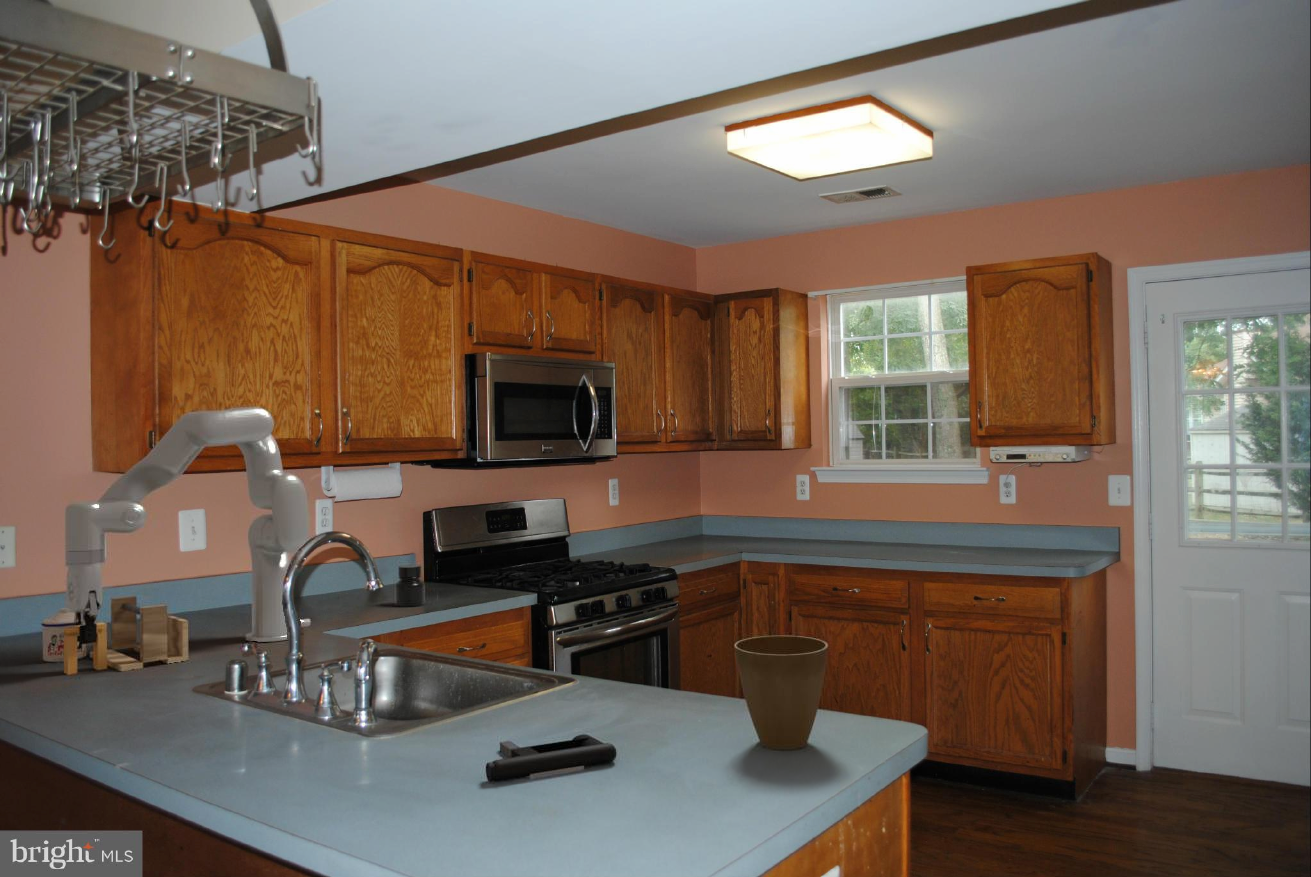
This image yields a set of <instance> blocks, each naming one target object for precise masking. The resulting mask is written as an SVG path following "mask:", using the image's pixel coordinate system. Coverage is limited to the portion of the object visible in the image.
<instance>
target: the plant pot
mask: <svg viewBox="0 0 1311 877" xmlns="http://www.w3.org/2000/svg"><path fill="white" fill-rule="evenodd" d="M828 648H829V644H828V643H827V642H826V641H824V640H821V639H819V638H814V637H810V636H809V637H808V636H801V635H800V636H799V635H763V636H753V637H748V638H745V639H744V638H743V639H741V640H738V641H736V642H735V643H734V652H735V658H736V663H737V668H738V674H739V675H738V676H739V679H740V684H741V688H742V691H743V696H744V699H745V703H746V706H747V709H748V712H749V715H750V719H751V722H752V724H753V727H754V729H755V732H756V735H757V737H758V740H759V743H760V745H761V746H763V747H765V748H767V749H770V750H778V751H793V750H799V749H802V748H805V747H806V745H807V744H808V742H809V738H810V735H811V732H812V730H813V726H814V724H815V719H816V717H817V712H818V709H819V705H820V700H821V695H822V690H823V685H824V681H825V674H826V668H827V659H828Z"/></svg>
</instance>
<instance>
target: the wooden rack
mask: <svg viewBox="0 0 1311 877" xmlns="http://www.w3.org/2000/svg"><path fill="white" fill-rule="evenodd" d="M137 598H138V597H137V596H135V595H130V596H121V597H112V598H110V648H107V667H111V668H113V669H115V670H117V671H119V672H121V671H122V672H127V671H128V672H129V671H133V670H132V669H134V670H140V668H141V669H144V663H149V662H156V661H159V660H161V661H163V662H162V663H164V662H166V663H167V665H170V664H169V663H172V664H175V663H174V662H178V663H182V662H181V661H185V662H187V661H186V660H188V661H189V620H187V619H184V618H181V617H178V616H174V615H171V614H168V605H167V604H158V605H151V606H143V607H140V606H138V605H137V603H138V602H137ZM137 615H139V616H140V617H139V625H140V626H139V630H140V631H139V635H140V636H139V637H140V638H139V643H140V644H137V643H138V641H137V640H138V639H137V637H138V636H137V635H138V627H137V626H138V625H137V623H138V622H137V621H138V620H137V618H138V616H137ZM130 648H133V649H134V650H135V651H134V650H133V651H134V652H136V653H139V652H140V654H139V658H140V659H139V660H140V661H139V660H137V659H136V658H132V657H131V656H128V655H126V654H124V653H121V652H119V651H117V650H124V649H130ZM89 658H91V659H93V660H94V650H93V651H90V652H89ZM161 661H160V662H161ZM166 663H165V664H166Z"/></svg>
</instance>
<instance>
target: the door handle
mask: <svg viewBox="0 0 1311 877" xmlns="http://www.w3.org/2000/svg"><path fill="white" fill-rule="evenodd" d="M499 751H500V752H501V753H502V754H503V755H504V756H505V757H506V758H500V759H496V760H493V761H491V762H487V763H486V764H485V775H486V779H487V781H488V782H492V781H493V782H496V783H499V782H504V781H510V780H517V779H522V778H528V779H531V780H533V779H537V778H538V779H539V778H542V777H549V776H554V775H560V774H567V773H572V772H578V771H584V770H585V768H589V767H595V766H597V767H598V766H602V765H608V764H611V763H613V762H614V761H615V760H616V758H617V749H616V747H615V746H614V744H611V743H609V742H605V743H604V742H602V741H600V740H598V739H597V738H595V737H593V736H591V735H589V734H583V733H582V734H578V735H576V736H574V737H573V738H572V739H570V740H564V741H563V740H561V741H557V742H549V743H543V744H536V745H535V744H534V745H528V746H523V747H520V746H518V745H517V744H516V743H514V742H512V741H511V740H506V741H501V742H500V741H499Z"/></svg>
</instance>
